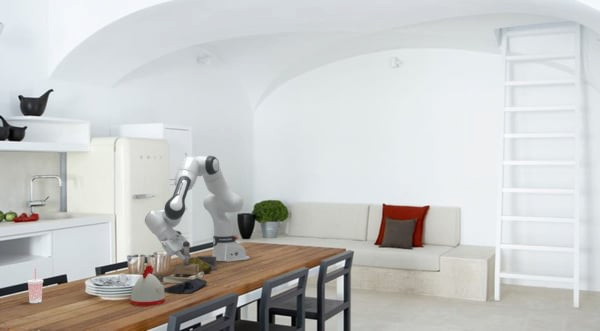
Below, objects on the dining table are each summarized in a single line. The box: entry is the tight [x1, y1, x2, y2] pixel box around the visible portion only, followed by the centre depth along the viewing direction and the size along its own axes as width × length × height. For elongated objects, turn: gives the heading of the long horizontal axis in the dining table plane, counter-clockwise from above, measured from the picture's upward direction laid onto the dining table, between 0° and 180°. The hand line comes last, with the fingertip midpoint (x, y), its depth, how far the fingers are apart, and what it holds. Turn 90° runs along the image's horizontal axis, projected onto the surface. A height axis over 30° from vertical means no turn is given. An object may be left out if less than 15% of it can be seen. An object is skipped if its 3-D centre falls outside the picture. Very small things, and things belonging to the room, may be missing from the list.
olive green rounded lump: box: [189, 256, 212, 274], centre depth 322 cm, size 8×13×8 cm, turn 58°
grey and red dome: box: [130, 265, 166, 307], centre depth 257 cm, size 14×14×15 cm
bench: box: [162, 255, 217, 284], centre depth 314 cm, size 39×14×7 cm, turn 166°
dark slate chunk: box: [164, 278, 208, 295], centre depth 283 cm, size 15×22×5 cm
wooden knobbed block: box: [173, 240, 199, 277], centre depth 307 cm, size 7×11×18 cm, turn 76°
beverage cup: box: [27, 267, 44, 304], centre depth 257 cm, size 6×6×14 cm
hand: (187, 258), depth 306 cm, fingers open, 5 cm apart
